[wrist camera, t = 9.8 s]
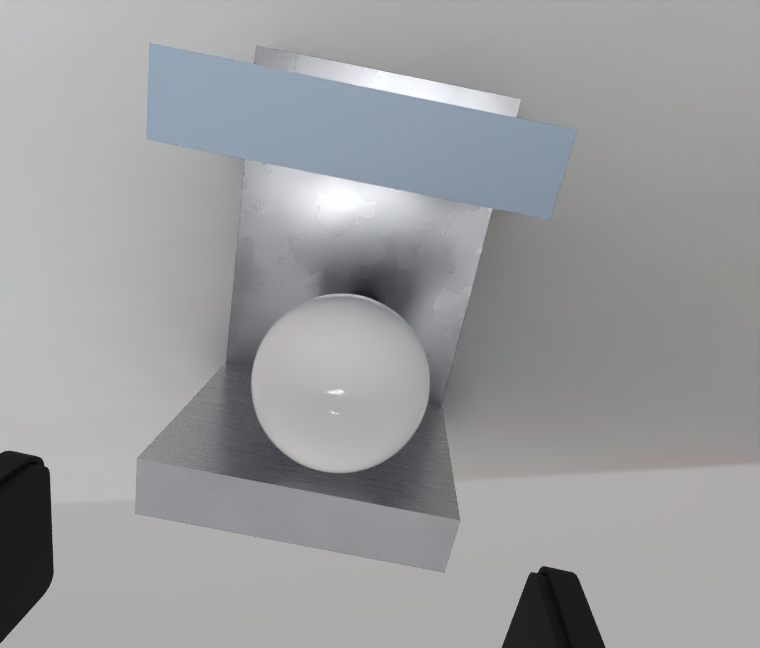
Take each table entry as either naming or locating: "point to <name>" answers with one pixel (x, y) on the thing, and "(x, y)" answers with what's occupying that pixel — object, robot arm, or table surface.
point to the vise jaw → (355, 132)
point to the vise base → (300, 283)
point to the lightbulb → (340, 383)
